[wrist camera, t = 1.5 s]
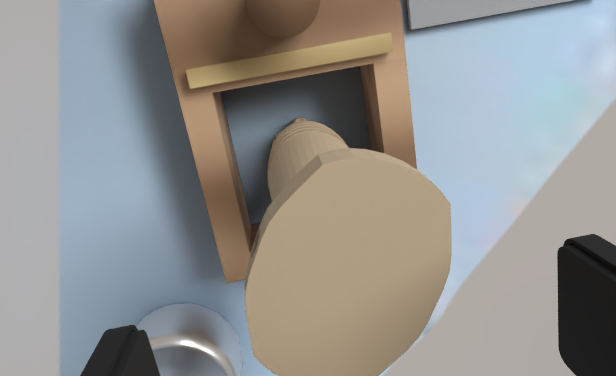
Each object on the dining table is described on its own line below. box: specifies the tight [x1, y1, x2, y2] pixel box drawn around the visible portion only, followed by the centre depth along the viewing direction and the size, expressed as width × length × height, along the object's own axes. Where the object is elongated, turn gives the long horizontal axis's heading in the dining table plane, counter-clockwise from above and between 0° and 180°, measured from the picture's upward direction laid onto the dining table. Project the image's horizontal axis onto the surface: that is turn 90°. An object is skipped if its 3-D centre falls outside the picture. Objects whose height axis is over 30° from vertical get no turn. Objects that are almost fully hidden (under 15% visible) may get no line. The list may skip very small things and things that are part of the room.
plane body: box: [154, 0, 417, 283], centre depth 22 cm, size 15×10×6 cm
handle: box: [245, 117, 451, 376], centre depth 19 cm, size 5×6×15 cm
